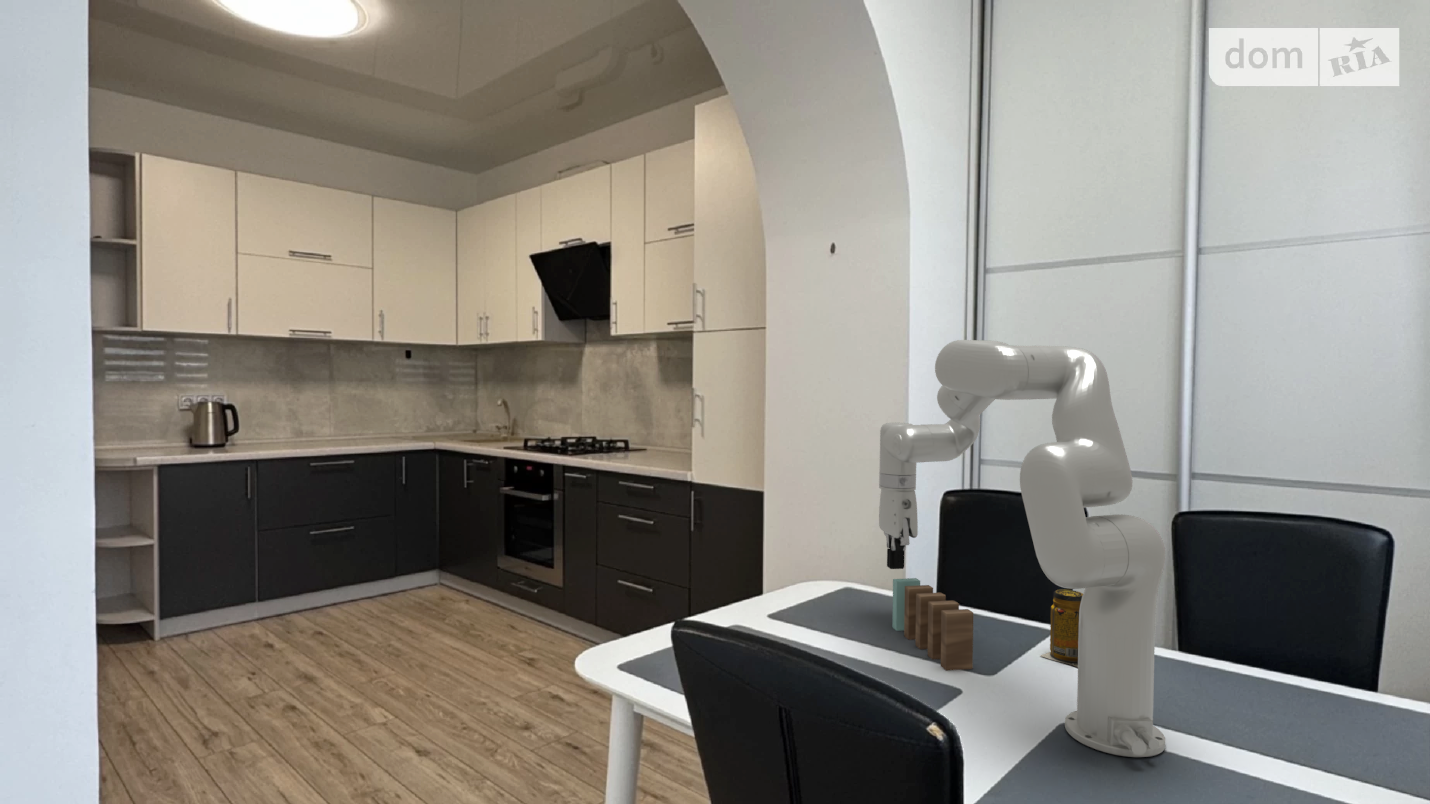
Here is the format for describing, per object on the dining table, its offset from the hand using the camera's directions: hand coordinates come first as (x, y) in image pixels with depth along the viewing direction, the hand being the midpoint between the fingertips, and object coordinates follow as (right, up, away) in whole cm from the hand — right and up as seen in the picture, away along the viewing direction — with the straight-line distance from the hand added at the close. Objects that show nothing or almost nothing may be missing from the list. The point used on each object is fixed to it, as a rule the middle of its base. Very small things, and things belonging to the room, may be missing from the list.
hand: (895, 567), depth 158 cm
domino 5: (+4, -12, -26) cm, 29 cm away
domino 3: (+3, -12, -16) cm, 20 cm away
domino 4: (+4, -12, -21) cm, 24 cm away
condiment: (+27, -12, -22) cm, 37 cm away
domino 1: (+1, -11, -5) cm, 12 cm away
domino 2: (+2, -11, -11) cm, 16 cm away
